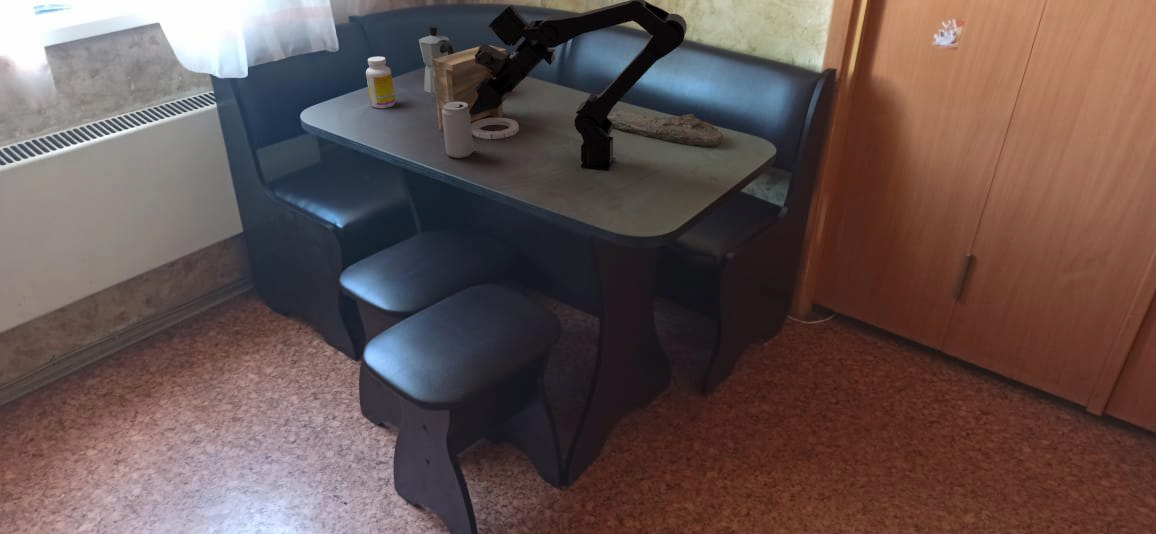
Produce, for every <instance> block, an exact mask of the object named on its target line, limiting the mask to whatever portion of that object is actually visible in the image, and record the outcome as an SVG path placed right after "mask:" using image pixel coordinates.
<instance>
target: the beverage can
mask: <svg viewBox="0 0 1156 534" xmlns="http://www.w3.org/2000/svg"><path fill="white" fill-rule="evenodd" d="M469 111H470V109H469V108H468V104H467V103H465V102H449V103H446V104H444V105H443V110H442V117H443V127H444V132H443V135H444V136H443V137H444V145H445V153H446V154H447V155H448V156H449V157H451V158H453V159H463V158H467V157H470V156H471V155H470V154H472V153H473V152H474V144H473V143H474V142H473V140H474V139H473V135H472V128H471V124H472V122H471V116H470V113H469Z"/></svg>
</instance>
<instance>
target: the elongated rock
mask: <svg viewBox="0 0 1156 534" xmlns="http://www.w3.org/2000/svg"><path fill="white" fill-rule="evenodd" d="M607 118H608V119H609V120H610V121H611V122H612V123H613V124H614V127H613V129H617V130H621V131H622V132H625V133H626V132H629V133H632V134H634V135H640V136H642V137H648V138H657V139H662V140H664V141H667V142H672V143H679V144H684V145H687V146H690V147H691V146H692V147H694V146H695V145H697V146H702V147H703V146H711V147H712V146H713V147H714V146H715V147H716V146H717V145H719V144H721V143H722V141H723V139H724V134H722V131H719V130H718V128H716V127H714V126H713V125H712V124H711V123H709V122H708V121H703V120H700V118H697V117H696V116H695V114H693V113H688V114H683V115H677V117H676V116H669V117H658V116H654V115H648V114H641V113H637V112H632V111H628V110H620V109H616V108H612V110H611V111H610V113H609V115H608V116H607Z"/></svg>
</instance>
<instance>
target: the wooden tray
mask: <svg viewBox="0 0 1156 534" xmlns="http://www.w3.org/2000/svg"><path fill="white" fill-rule="evenodd" d="M488 45H489V44H488ZM480 46H481V45H479V46H476V47H473V48H469V49H468V48H467V49H465V50H462V51H458V52H454V54H450V55H447V56H443V57H440V58H436V59H433V60H432V64H433V74H434V83H435V93H436V94H435V101H436V111H437V119H438V120H437V123H438V130H439V131H441V132H443V133H444V127H443V117H442V110H443V105H444V104H446V103H449V102H465V103H467V104H468V108H469V109H471V107H472V106H473V104H474V102H475V101H476V99H477V97H478V93H477V91H476V87H477V86H478V85H479V84H480V83H481V82H482V81H483V80H484V79H485V78H492V79H493V80H494V78H493V75H492V74H491V73H490V72H491V71H492V70H491V69H488V68H487V67H484V66H483V65H481V64H477V63H476V62H474V59H475V54H476V53H477V51H478V49H479V47H480ZM489 46H491V47H493V48H495V49H497V50H498V51H500V52H502V53H503V54H505V55H506V56H507V49H506V48H502V47H499V46H494V45H489ZM503 107H504V105H503V103H502V104H501V105H500V106H499V107H498V108H497V109H491V110H488V111H484V112H481V113H478V114H475V115H471V114H470V116H471V123H473V122H476V121H478V120H481V119H484V118H485V117H486V118H487V117H488V116H493V117H496V118H498V117H499V118H502V117H504V110H503V109H504V108H503Z"/></svg>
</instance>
